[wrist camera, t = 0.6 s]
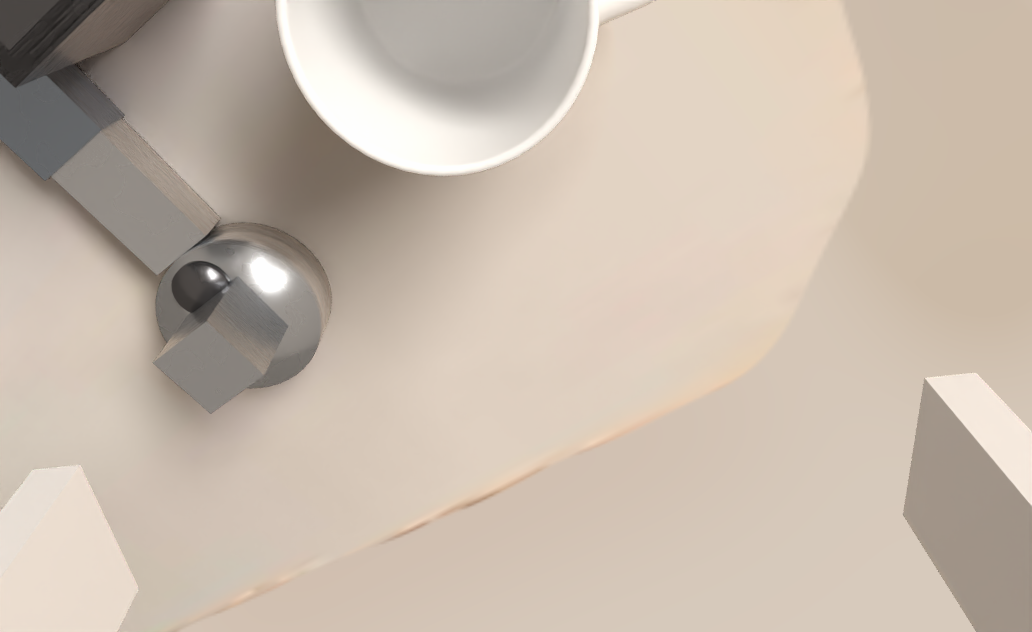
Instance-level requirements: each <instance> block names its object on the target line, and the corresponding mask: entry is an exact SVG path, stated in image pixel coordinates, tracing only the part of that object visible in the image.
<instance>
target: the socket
mask: <svg viewBox="0 0 1032 632" xmlns="http://www.w3.org/2000/svg"><path fill="white" fill-rule="evenodd" d="M168 1H169V0H0V74H1V75H2V76H3V77H4V78H5V79H6V80H7V81H8V82H9V83H10V84H11V85H12V86H14V87H15V88H17V87H19V86H21V85H24V84H26V83H29V82H31V81H34V80H36V79H38V78H41V77H43V76H46V75H48V74H50V73H53V72H55V71H58V70H60V69H63V68H65V67H67V66H70V65H72V64H75V63H77V62H79V61H82V60H84V59H87V58H89V57H92V56H94V55H96V54H99V53H101V52H104V51H106V50H108V49H111V48H113V47H116V46H118V45H121V44H123V43H125V42H126V41H127V40H128V39H129V38H130V37H131V36H132V35H133V34H134V33H135V32H136V31H137V30H138V29H139V28H140V27H142V26H143V25H144V24H145V23H146V22H147V21H148V20H149V19H150V18H151V17H152V16H153V15H154V14H155V13H156V12H157V11H158V10H159V9H161V8H162V7H163V6H164V5H165V4H166V3H167V2H168Z"/></svg>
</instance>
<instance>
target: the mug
mask: <svg viewBox="0 0 1032 632" xmlns="http://www.w3.org/2000/svg"><path fill="white" fill-rule="evenodd" d="M654 1H656V0H275V10H276V22H277V27H278V33H279V39H280V43H281V46H282V49H283V52H284V56H285V59H286V62H287V64H288V67H289V69H290V71H291V73H292V76H293V78H294V80H295V82H296V84H297V86H298V87H299V89H300V91H301V92H302V94H303V96H304V97H305V99H306V101H307V102H308V103H309V105H310V106H311V107H312V109H313V110H314V111H315V112H316V114H317V115H318V116H319V118H320V119H321V120H322V121H323V122H324V123H325V124H326V125H327V126H328V127H329V128H330V129H331V130H332V131H333V132H334V133H335V134H336V135H338V136H339V137H340V138H341V139H343V140H344V141H345V142H346V143H348V144H349V145H350V146H352V147H353V148H355V149H356V150H358V151H360V152H361V153H363V154H364V155H366V156H368V157H370V158H372V159H374V160H376V161H378V162H380V163H382V164H384V165H387V166H390V167H393V168H396V169H399V170H402V171H406V172H411V173H416V174H421V175H431V176H459V175H466V174H472V173H477V172H482V171H485V170H488V169H491V168H494V167H498V166H500V165H502V164H504V163H507V162H509V161H511V160H513V159H515V158H517V157H519V156H520V155H522V154H523V153H525V152H527V151H528V150H530V149H531V148H533V147H534V146H535V145H537V144H538V143H539V142H540V141H541V140H543V139H544V138H545V137H546V136H547V135H548V134H549V133H550V132H551V131H552V130H553V129H554V128H555V127H556V126H557V125H558V124H559V123H560V121H561V120H562V119H563V118H564V116H565V115H566V114H567V112H568V111H569V109H570V108H571V107H572V105H573V104H574V102H575V100H576V98H577V96H578V95H579V93H580V91H581V89H582V87H583V85H584V83H585V80H586V77H587V75H588V72H589V70H590V67H591V64H592V60H593V56H594V52H595V48H596V43H597V34H598V26H600V25H602V24H604V23H607V22H609V21H611V20H614V19H616V18H619V17H621V16H623V15H626V14H628V13H630V12H633V11H635V10H637V9H639V8H641V7H644V6H646V5H648V4H650V3H652V2H654Z"/></svg>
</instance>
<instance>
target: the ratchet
mask: <svg viewBox="0 0 1032 632" xmlns="http://www.w3.org/2000/svg"><path fill="white" fill-rule="evenodd" d="M124 116H125V115H124V114H123V113H122V112H121V111H120V110H119V109H118V108H117V107H116V106H115V105H114V104H113V103H112V102H111V101H110V100H109V99H108V98H107V97H106V96H105V95H104V94H103V93H102V92H101V91H100V90H99V89H98V88H97V87H96V86H95V85H94V84H93V83H92V82H91V81H90V80H89V79H88V78H87V77H86V75H85V74H84V73H83V72H82V71H81V70H80V69H79V68H78V67H77V66H76V65H75V64H72V65H70V66H67V67H65V68H63V69H60V70H58V71H55V72H53V73H50V74H48V75H46V76H43V77H41V78H38V79H36V80H34V81H31V82H29V83H26V84H24V85H21V86H19V87H17V88H15V87H14V86H12V85H11V84H10V83H9V82H8V81H7V80H6V79H5V78H4V77H3V76H2V75H1V74H0V140H1V141H3V142H4V143H5V144H6V145H7V146H8V147H9V148H10V149H11V150H12V151H13V152H14V153H15V154H17V155H18V156H19V157H20V158H21V159H22V160H23V161H24V162H25V163H26V164H27V165H28V166H29V167H31V168H32V169H33V170H34V171H35V172H36V173H37V174H38V175H39V176H40V177H41V178H42V179H43V180H45V181H46V180H47V179H49V178H50V177H52V178H53V179H54V180H55V181H56V182H57V183H58V184H59V185H60V186H62V187H63V188H64V189H65V190H66V191H67V192H68V193H69V194H70V195H71V196H72V197H73V198H74V199H75V200H77V201H78V202H79V203H80V204H81V205H82V206H83V207H84V208H85V209H86V210H87V211H88V212H89V213H90V214H92V215H93V216H94V217H95V218H96V219H97V220H98V221H99V222H100V223H101V224H102V225H103V226H104V227H105V228H107V229H108V230H109V231H110V232H111V233H112V234H113V235H114V236H115V237H116V238H117V239H118V240H119V241H120V242H122V243H123V244H124V245H125V246H126V247H127V248H128V249H129V250H130V251H131V252H132V253H133V254H134V255H135V256H137V257H138V258H139V259H140V260H141V261H142V262H143V263H144V264H145V265H146V266H147V267H148V268H149V269H150V270H151V271H153V272H154V273H155V274H156V275H158V274H160V273H161V272H162V271H163V270H165V269H166V268H167V267H168V266H170V265H171V264H172V263H173V262H174V261H175V262H174V263H173V265H172V266H171V267H170V268H169V269H168V271H167V272H166V273H165V275H164V276H163V278H162V280H161V282H160V285H159V288H158V291H157V296H156V316H157V321H158V324H159V328H160V330H161V333H162V335H163V337H164V339H165V341H166V342H167V344H166V345H165V347H164V348H163V349H162V351H161V352H160V353H159V355H158V356H157V357H156V359H155V360H154V362H153V364H154V365H156V366H157V367H158V368H159V369H160V370H161V371H162V372H164V373H165V374H166V375H167V376H168V377H169V378H170V379H172V380H173V381H174V382H175V383H176V384H177V385H178V386H179V387H181V388H182V389H183V390H184V391H185V392H186V393H187V394H189V395H190V396H191V397H192V398H193V399H194V400H195V401H197V402H198V403H199V404H200V405H201V406H202V407H203V408H205V409H206V410H207V411H208V412H209V413H210V414H211V413H213V412H214V411H215V410H217V409H218V408H220V407H221V406H222V405H224V404H225V403H226V402H228V401H229V400H231V399H232V398H233V397H235V396H236V395H237V394H239V393H240V392H242V391H243V390H244V389H246V388H263V387H269V386H273V385H276V384H279V383H282V382H284V381H286V380H289V379H290V378H292V377H293V376H295V375H297V374H298V373H299V372H300V371H301V370H303V369H304V368H305V366H306V365H307V364H308V363H309V362H310V360H311V359H312V357H313V356H314V354H315V351H316V349H317V347H318V345H319V342H320V340H321V337H322V335H323V332H324V330H325V327H326V325H327V323H328V320H329V317H330V313H331V306H332V296H331V289H330V284H329V281H328V278H327V276H326V274H325V272H324V270H323V268H322V266H321V265H320V263H319V262H318V260H317V259H316V257H315V256H314V255H313V254H312V253H311V252H310V251H309V250H308V249H307V248H306V247H305V246H304V245H303V244H302V243H300V242H299V241H298V240H296V239H295V238H293V237H292V236H290V235H288V234H286V233H285V232H282V231H280V230H278V229H275V228H272V227H269V226H266V225H261V224H256V223H231V224H225V225H221V226H218V227H215V228H213V227H214V226H215V225H216V224H217V222H218V221H219V220H220V219H221V218H220V217H219V216H218V215H217V214H216V213H215V212H214V211H213V210H212V209H211V208H210V207H209V206H208V205H207V204H206V203H205V202H204V201H203V200H202V199H201V198H200V197H199V196H198V195H197V194H196V193H195V192H194V191H193V190H192V189H191V188H190V187H189V186H188V185H187V184H186V183H185V182H184V181H183V180H182V179H181V178H180V177H179V176H178V175H177V174H176V173H175V172H174V171H173V170H172V169H171V168H170V167H169V165H168V164H167V163H166V162H165V161H164V160H163V159H162V158H161V157H160V156H159V155H158V154H157V153H156V152H155V151H154V150H153V149H152V148H151V147H150V146H149V145H148V144H147V143H146V142H145V141H144V140H143V139H142V138H141V137H140V136H139V135H138V134H137V133H136V132H135V131H134V130H133V129H132V128H131V127H130V126H129V125H128V124H127V123H126V122H125V121H124V120H123V119H122V117H124ZM212 228H213V229H212Z"/></svg>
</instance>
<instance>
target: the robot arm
mask: <svg viewBox="0 0 1032 632" xmlns="http://www.w3.org/2000/svg"><path fill="white" fill-rule="evenodd" d="M903 516H904V517H905V519H906V520H907V522H908V524H909V525H910V527H911V528H912V530H913V532H914V533H915V535H916V536H917V538H918V540H919V541H920V543H921V544H922V546H923V547H924V549H925V551H926V552H927V554H928V556H929V557H930V559H931V560H932V562H933V564H934V565H935V566H936V568H937V570H938V572H939V573H940V575H941V576H942V578H943V579H944V581H945V583H946V584H947V586H948V587H949V589H950V591H951V592H952V594H953V595H954V597H955V599H956V600H957V602H958V603H959V605H960V607H961V608H962V610H963V611H964V613H965V615H966V616H967V618H968V619H969V621H970V623H971V624H972V626H973V627H974V629H975V631H976V632H1032V431H1031V430H1030V429H1028V427H1027V426H1026V425H1025V424H1024V423H1023V422H1022V421H1021V420H1020V419H1019V418H1018V417H1017V416H1016V415H1015V413H1014V412H1013V411H1012V410H1011V409H1010V408H1009V407H1008V406H1007V405H1006V404H1005V403H1004V402H1003V401H1002V400H1001V399H1000V398H999V397H998V395H997V394H996V393H995V392H994V391H993V390H992V389H991V388H990V387H989V386H988V385H987V384H986V383H985V382H984V381H983V380H982V379H981V378H980V377H979V376H978V375H977V373H969V374H958V375H948V376H938V377H929V378H924V384H923V391H922V397H921V403H920V410H919V416H918V423H917V429H916V435H915V442H914V448H913V454H912V461H911V467H910V473H909V480H908V487H907V493H906V499H905V505H904V512H903ZM138 590H139V588H138V585H137V583H136V581H135V579H134V577H133V575H132V573H131V571H130V569H129V566H128V564H127V562H126V560H125V558H124V556H123V554H122V552H121V550H120V547H119V545H118V543H117V541H116V539H115V537H114V535H113V533H112V531H111V528H110V526H109V524H108V522H107V520H106V518H105V516H104V514H103V512H102V509H101V507H100V505H99V503H98V501H97V499H96V497H95V495H94V493H93V491H92V488H91V486H90V484H89V482H88V480H87V478H86V476H85V474H84V472H83V469H82V467H81V465H72V466H63V467H53V468H43V469H33V470H32V471H31V473H30V474H29V475H28V477H27V478H26V479H25V480H24V482H23V483H22V484H21V486H20V487H19V488H18V490H17V491H16V492H15V493H14V495H13V496H12V497H11V499H10V500H9V501H8V502H7V504H6V505H5V506H4V508H3V509H2V510H1V511H0V632H118V630H119V628H120V626H121V624H122V622H123V620H124V618H125V616H126V614H127V612H128V610H129V608H130V606H131V604H132V602H133V600H134V598H135V596H136V594H137V592H138Z"/></svg>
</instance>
